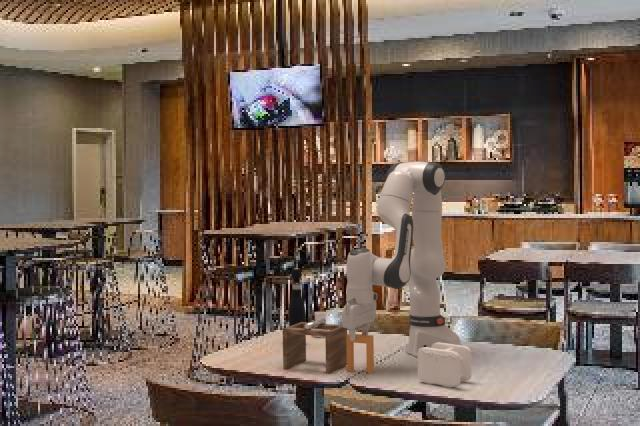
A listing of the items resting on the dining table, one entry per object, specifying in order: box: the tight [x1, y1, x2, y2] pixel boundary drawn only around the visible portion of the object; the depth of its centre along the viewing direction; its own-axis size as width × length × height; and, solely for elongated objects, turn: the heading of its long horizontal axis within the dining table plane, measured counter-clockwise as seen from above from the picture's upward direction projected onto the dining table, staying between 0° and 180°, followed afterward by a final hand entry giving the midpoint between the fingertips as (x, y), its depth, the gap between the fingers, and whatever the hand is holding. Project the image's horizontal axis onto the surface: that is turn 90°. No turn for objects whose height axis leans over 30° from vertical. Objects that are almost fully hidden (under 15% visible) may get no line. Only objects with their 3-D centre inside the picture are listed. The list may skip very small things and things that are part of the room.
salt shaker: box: [312, 311, 327, 339], centre depth 341 cm, size 8×8×10 cm
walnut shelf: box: [282, 321, 348, 375], centre depth 287 cm, size 18×14×14 cm
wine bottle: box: [288, 268, 306, 327], centre depth 323 cm, size 6×6×30 cm
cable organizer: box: [417, 342, 472, 389], centre depth 262 cm, size 15×11×12 cm
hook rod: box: [304, 318, 327, 330], centre depth 287 cm, size 2×13×2 cm, turn 153°
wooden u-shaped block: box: [346, 333, 375, 374], centre depth 279 cm, size 9×2×12 cm, turn 63°
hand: (359, 337), depth 279 cm, fingers open, 8 cm apart
